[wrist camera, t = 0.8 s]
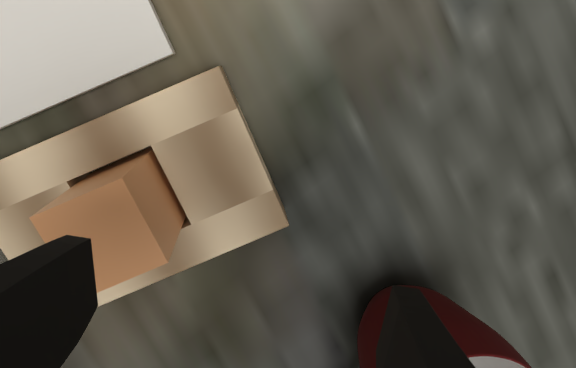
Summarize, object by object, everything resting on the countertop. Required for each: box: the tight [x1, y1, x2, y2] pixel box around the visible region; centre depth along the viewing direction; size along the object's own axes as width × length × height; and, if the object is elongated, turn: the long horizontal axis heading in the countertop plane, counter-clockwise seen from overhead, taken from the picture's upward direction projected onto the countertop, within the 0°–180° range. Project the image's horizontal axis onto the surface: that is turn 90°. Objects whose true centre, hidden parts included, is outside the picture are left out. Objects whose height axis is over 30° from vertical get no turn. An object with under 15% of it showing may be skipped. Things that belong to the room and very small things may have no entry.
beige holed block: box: [0, 66, 289, 306], centre depth 24 cm, size 14×9×3 cm, turn 112°
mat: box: [0, 0, 176, 129], centre depth 23 cm, size 12×7×1 cm, turn 112°
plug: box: [29, 147, 186, 293], centre depth 22 cm, size 4×4×8 cm
